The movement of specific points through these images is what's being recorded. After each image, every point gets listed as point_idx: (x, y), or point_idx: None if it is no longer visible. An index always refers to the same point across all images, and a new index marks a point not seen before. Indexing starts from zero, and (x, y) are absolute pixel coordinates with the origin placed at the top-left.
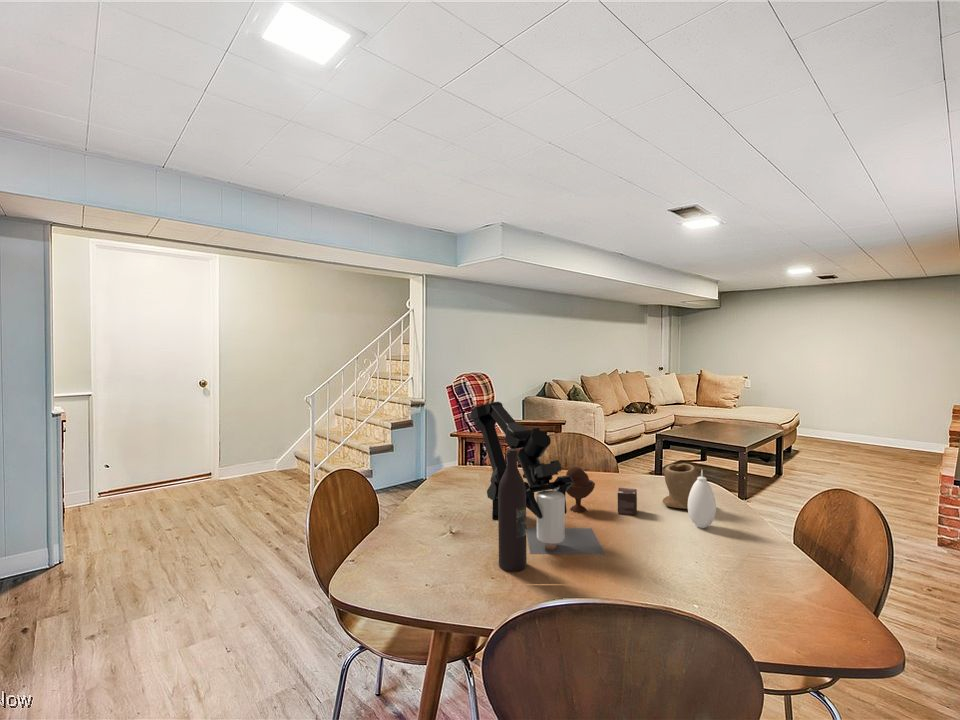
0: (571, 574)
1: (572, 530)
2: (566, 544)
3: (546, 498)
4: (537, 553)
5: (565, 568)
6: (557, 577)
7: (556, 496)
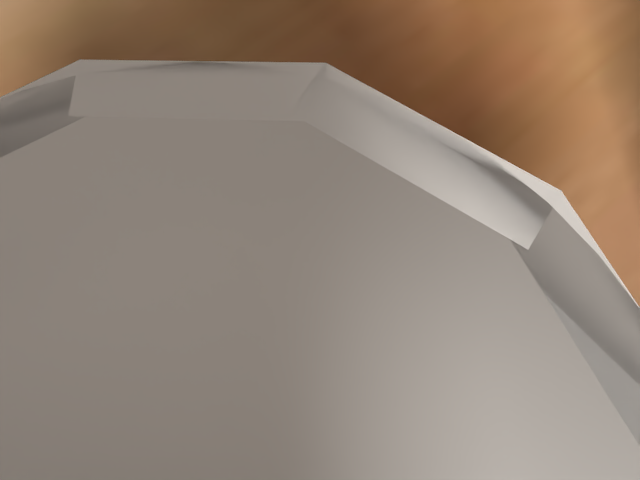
0: (508, 51)
1: None
2: None
3: (631, 371)
4: None
5: (478, 124)
6: (613, 77)
7: (141, 274)
